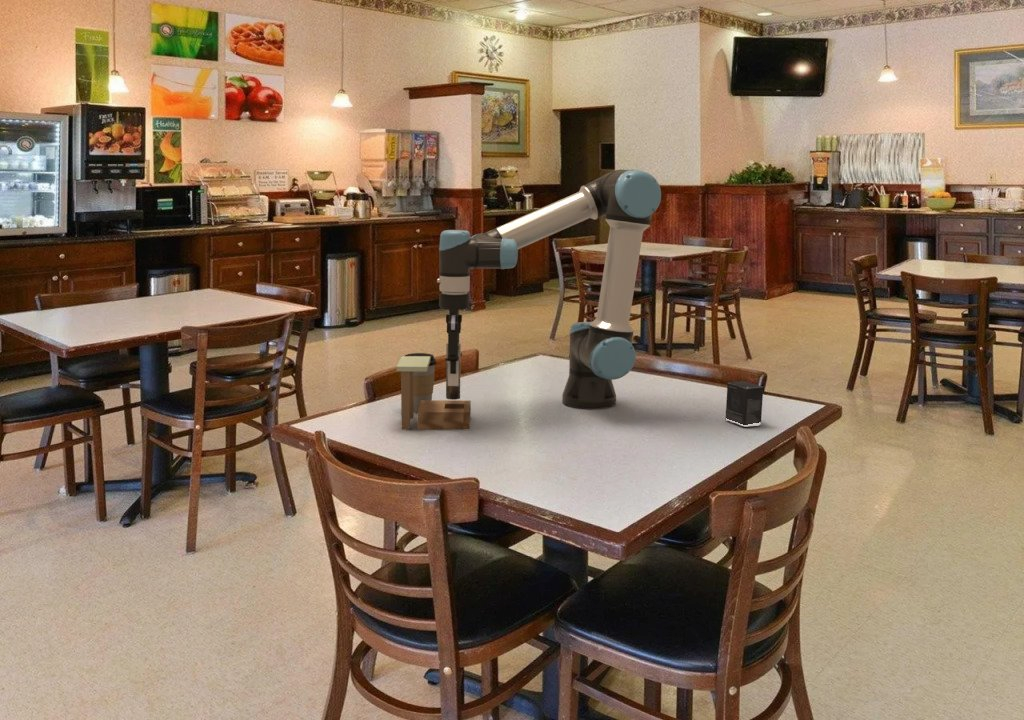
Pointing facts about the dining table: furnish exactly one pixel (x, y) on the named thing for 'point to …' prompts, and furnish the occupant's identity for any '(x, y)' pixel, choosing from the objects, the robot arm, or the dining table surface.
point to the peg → (451, 391)
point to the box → (744, 402)
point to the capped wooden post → (409, 384)
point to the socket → (444, 415)
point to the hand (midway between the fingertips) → (453, 383)
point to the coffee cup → (423, 382)
